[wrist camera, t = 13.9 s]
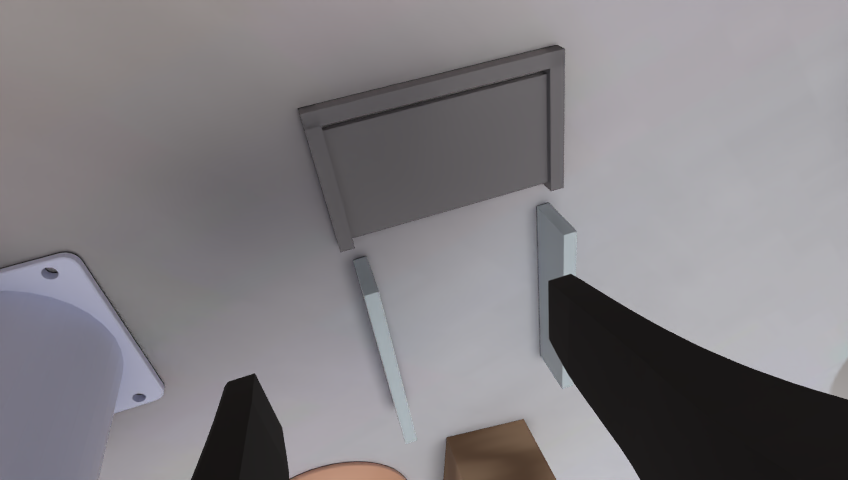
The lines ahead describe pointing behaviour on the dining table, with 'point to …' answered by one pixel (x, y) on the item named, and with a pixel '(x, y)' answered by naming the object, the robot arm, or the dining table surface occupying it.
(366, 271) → the grey parallel rails
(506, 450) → the walnut block
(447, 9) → the dining table surface
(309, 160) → the dining table surface
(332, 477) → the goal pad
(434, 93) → the tray
